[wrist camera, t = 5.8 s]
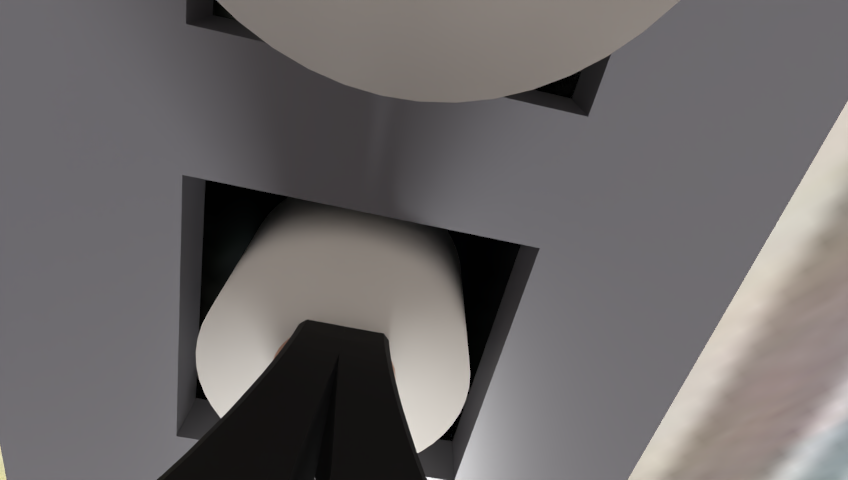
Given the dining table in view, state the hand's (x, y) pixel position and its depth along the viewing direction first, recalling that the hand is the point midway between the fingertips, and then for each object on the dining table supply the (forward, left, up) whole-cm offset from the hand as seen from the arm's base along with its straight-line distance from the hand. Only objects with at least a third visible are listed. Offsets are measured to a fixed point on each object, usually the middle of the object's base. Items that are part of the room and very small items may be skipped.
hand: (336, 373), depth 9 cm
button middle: (0, 0, -3) cm, 3 cm away
